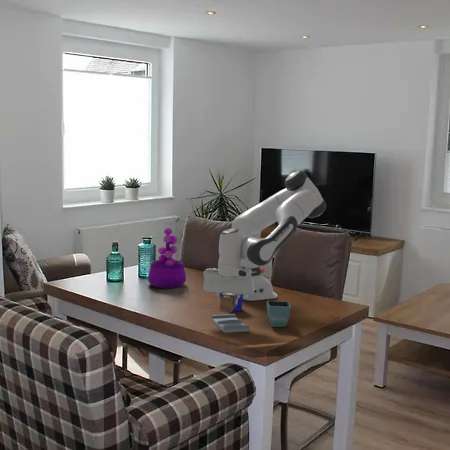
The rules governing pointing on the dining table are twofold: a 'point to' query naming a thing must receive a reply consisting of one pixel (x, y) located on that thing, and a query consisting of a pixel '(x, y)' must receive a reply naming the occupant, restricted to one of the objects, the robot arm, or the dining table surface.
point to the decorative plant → (167, 266)
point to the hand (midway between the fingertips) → (228, 303)
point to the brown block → (227, 302)
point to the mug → (239, 305)
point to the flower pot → (278, 313)
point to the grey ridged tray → (229, 323)
